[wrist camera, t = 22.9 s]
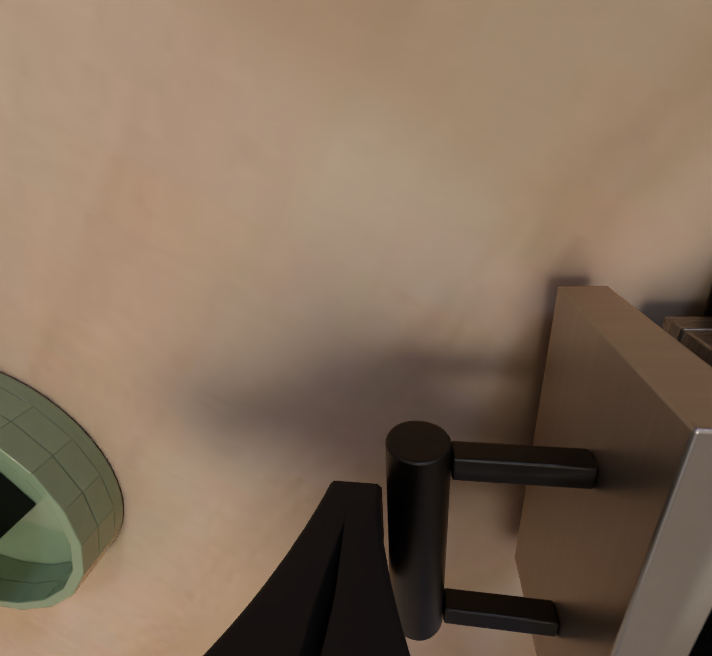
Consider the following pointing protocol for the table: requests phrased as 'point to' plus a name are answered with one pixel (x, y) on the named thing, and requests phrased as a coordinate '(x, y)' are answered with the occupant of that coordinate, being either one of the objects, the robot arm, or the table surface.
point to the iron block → (12, 505)
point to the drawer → (580, 494)
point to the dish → (52, 500)
